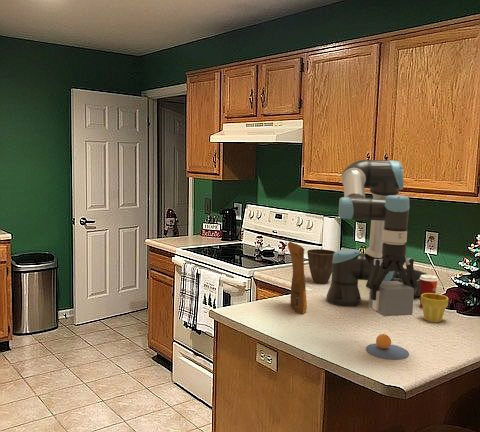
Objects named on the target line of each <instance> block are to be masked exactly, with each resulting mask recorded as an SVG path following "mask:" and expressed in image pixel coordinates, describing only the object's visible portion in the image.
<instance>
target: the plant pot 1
mask: <svg viewBox="0 0 480 432" xmlns="http://www.w3.org/2000/svg"><path fill="white" fill-rule="evenodd" d="M335 252H336V251H335V250H331V249H322V248H321V249H320V248H313V249H308V250H307V260H308V268H309V271H310V272H309V273H310V275H311V279H312V282H313V283H314V282H316V283H315V284H318V283H320V284H319V285H326V284H329V281H330V279H331V277H332V264H333V263H332V261H333V254H334V253H335Z"/></svg>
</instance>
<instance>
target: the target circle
mask: <svg viewBox="0 0 480 432" xmlns="http://www.w3.org/2000/svg"><path fill="white" fill-rule="evenodd" d="M365 351H366V352H367V353H368V354H370V355H371V356H374V357H376V358H379V359H384V360H392V361H393V360H394V361H395V360H397V361H398V360H403V359H406V358H408V357H409V356H410V352H409V351H408V350H407V349H406V348H404V347H402V346H399V345H396V344H392V343H391V345H390V347H389V348H387V349H381V348H379V347H378V346H377V344H376V343H371V344H368V345H367V346H365Z"/></svg>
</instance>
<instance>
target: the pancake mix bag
mask: <svg viewBox="0 0 480 432" xmlns="http://www.w3.org/2000/svg"><path fill="white" fill-rule="evenodd" d="M287 248H288V252H289V254H290V258H291V259H290V260H291V265H292V278H291V284H290V285H291V286H290V306H291V308H292V309H293V312H294V313H296V314H300V315H304V314H306V312H307V308H308V306H307V304H308V303H307V290H306V289H307V288H306V287H307V286H306V278H305V277H306V276H305V259H304V258H305V248H304V247H302V245H300V244H298V243H294V242H292V241H288V243H287Z"/></svg>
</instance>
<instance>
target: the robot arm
mask: <svg viewBox="0 0 480 432" xmlns="http://www.w3.org/2000/svg"><path fill="white" fill-rule="evenodd" d="M340 180H341V184H342V186H343V195H344V196H342V197H340V198H339V201H338V217H339V218H340V219H345V220H360V221H361V220H365V221H370V232H369V245H368V247H366V249H365V250H364V253H361V251H360V250H359V249H356V248H355V249H354V248H350V249H349V248H348V249H347V248H346V249H340V250H336V251H335V253H334V254H333V261H332V263H333V264H332V274H331V281H330V285H329V289H328V291H327V294H326V302H327V303H329V304H332V305H335V306H342V307H356V306H359V305H361V303H362V296H361V293H360V289H359V281H366V284H365V287H366V288H367V289H369V290H370V289H371V299H372V300H373V304H372V308H373V309H374V310H376V311H378V308H379V293H380V291H378V288H379V286H380V285H381V283H382V281H390V280H391V279H392V277H393V274H394V271H398V273H399V275H400V277H401V279H402V281H403V283H404V284H405V285H408V286H410V287H412V288H414V287H417V282H416V277H415V272H414V270H415V269H414V261H415V260H414V259H413V258H410V257H406V254H407V244H406V243H407V242H408V241H407V240H408V228H409V227H408V226H409V216H410V215H409V213H410V207H411V206H410V198H409V197H408V196H406V195H399V193H400V191H401V190H403V189H404V170H403V165H402V163H401V161H399V160H392V159H359V160H357V161H353V162H351V163H350V164H349V165H348V166H346V167H345V168H344V169H343V170H342V173H341V179H340ZM365 189H369V193H370V194H371V195H372V198H370V197H366V191H365ZM404 265H405V267H404ZM404 268H407V273H408V277H407V275H406V273H405V270H404ZM408 278H409V279H408ZM373 309H372V310H373ZM374 310H373V311H374ZM376 311H375V312H376Z"/></svg>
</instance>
